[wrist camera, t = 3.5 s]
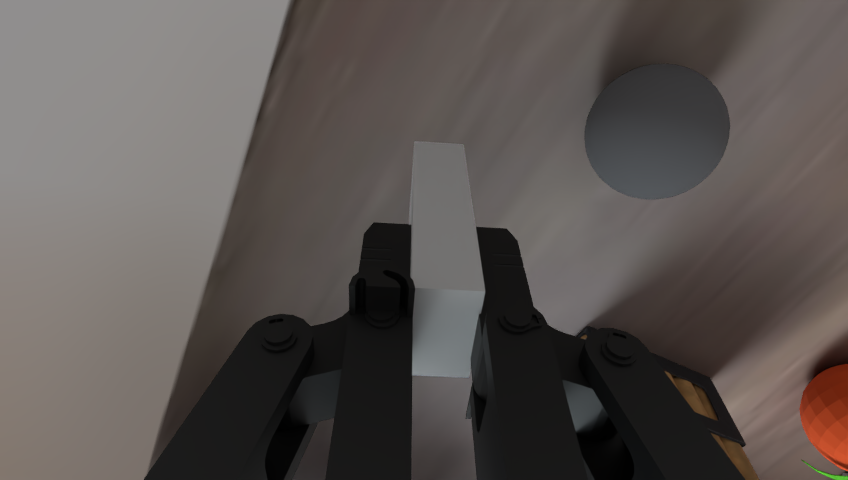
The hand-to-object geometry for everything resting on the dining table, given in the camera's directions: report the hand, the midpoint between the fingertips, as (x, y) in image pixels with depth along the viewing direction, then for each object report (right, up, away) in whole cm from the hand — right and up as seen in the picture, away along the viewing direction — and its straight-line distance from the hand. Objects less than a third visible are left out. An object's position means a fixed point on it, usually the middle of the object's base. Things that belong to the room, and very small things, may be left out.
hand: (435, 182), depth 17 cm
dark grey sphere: (+9, +3, +5) cm, 11 cm away
